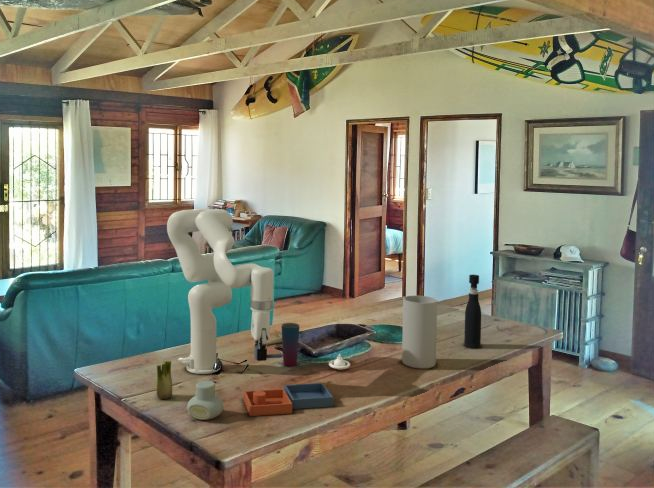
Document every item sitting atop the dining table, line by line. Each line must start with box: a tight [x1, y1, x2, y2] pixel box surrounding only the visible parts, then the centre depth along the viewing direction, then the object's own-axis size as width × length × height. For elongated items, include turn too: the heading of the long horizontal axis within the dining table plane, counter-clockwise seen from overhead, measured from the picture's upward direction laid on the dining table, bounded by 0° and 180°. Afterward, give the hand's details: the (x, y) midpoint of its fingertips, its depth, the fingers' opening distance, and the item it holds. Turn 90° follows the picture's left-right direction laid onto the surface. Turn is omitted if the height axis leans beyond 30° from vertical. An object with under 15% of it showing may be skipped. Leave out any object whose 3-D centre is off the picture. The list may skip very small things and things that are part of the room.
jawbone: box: [267, 329, 282, 346], centre depth 257 cm, size 9×20×2 cm, turn 161°
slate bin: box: [283, 382, 334, 410], centre depth 195 cm, size 13×12×3 cm
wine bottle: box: [463, 274, 482, 349], centre depth 252 cm, size 6×6×30 cm
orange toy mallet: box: [253, 390, 282, 406], centre depth 190 cm, size 9×4×4 cm, turn 100°
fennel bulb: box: [155, 360, 173, 400], centre depth 196 cm, size 6×5×12 cm
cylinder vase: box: [401, 295, 438, 370], centre depth 230 cm, size 12×12×25 cm
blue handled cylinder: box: [254, 345, 283, 361], centre depth 204 cm, size 9×4×4 cm, turn 100°
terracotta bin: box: [243, 388, 293, 417], centre depth 190 cm, size 13×12×3 cm
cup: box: [281, 322, 300, 367], centre depth 229 cm, size 7×7×15 cm
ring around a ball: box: [328, 353, 351, 371], centre depth 224 cm, size 8×6×8 cm
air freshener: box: [186, 380, 224, 421], centre depth 183 cm, size 11×8×10 cm
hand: (260, 357), depth 203 cm, fingers closed on blue handled cylinder, 4 cm apart
